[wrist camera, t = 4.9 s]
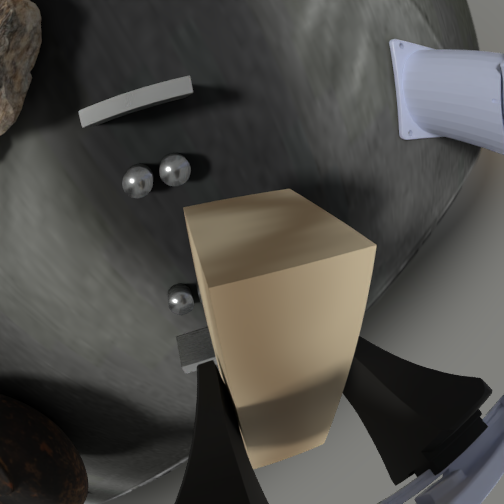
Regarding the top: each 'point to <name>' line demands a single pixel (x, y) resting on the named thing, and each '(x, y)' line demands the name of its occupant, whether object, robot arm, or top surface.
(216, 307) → the oak block
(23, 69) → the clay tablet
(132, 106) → the grey blocks and balls
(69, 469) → the glass bottle
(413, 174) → the top surface
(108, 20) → the top surface
